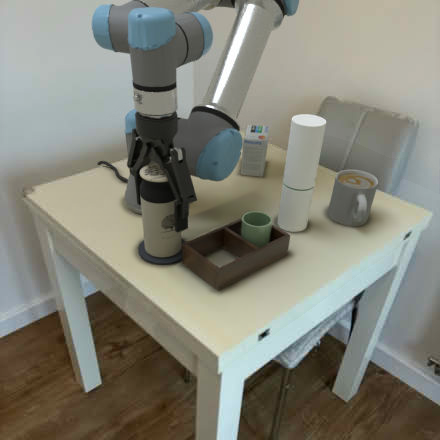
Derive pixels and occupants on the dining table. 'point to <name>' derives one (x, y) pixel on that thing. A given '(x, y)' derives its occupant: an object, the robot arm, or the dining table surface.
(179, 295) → the dining table surface
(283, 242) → the cup holder
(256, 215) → the sage cup
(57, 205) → the dining table surface
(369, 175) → the coffee mug
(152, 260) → the slate coaster
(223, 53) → the robot arm
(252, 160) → the light bulb box
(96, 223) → the dining table surface
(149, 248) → the travel mug
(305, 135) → the cylindrical container
